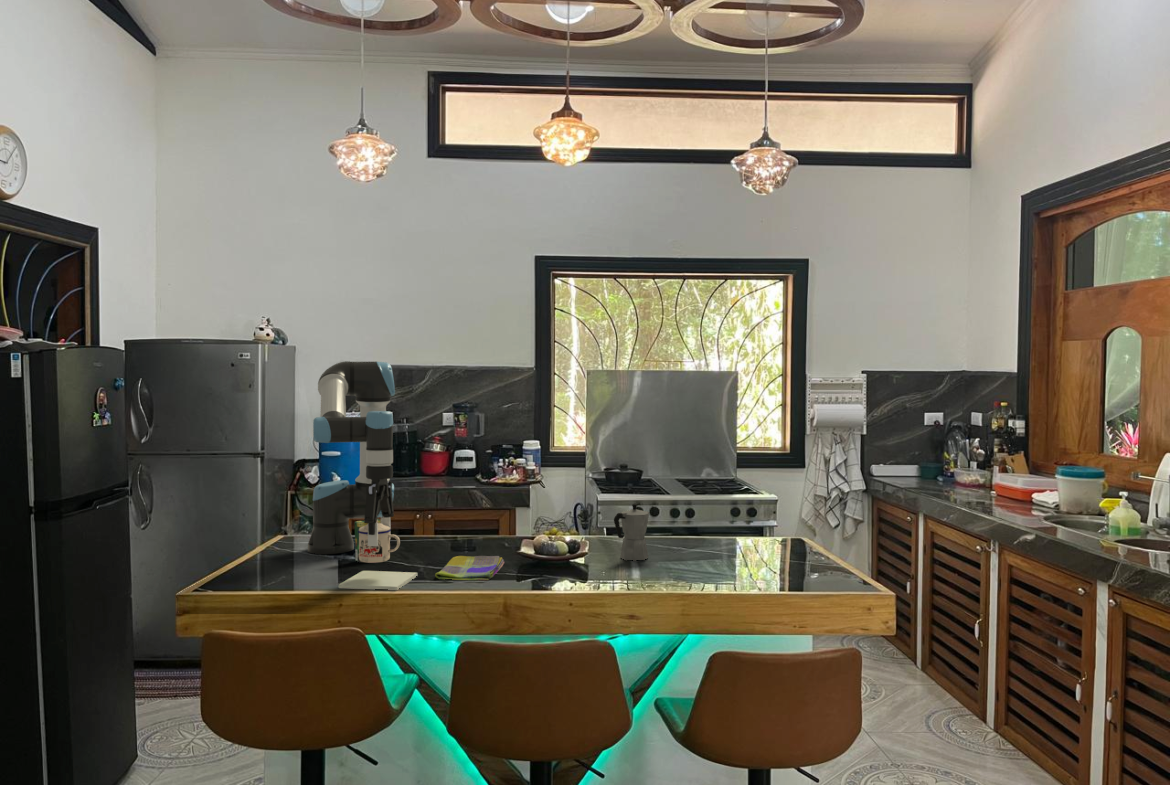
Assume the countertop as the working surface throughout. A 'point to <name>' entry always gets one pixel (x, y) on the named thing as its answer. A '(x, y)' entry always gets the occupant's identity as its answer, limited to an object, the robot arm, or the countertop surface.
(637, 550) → the coffeepot
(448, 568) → the dish towel
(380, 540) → the teacup with lid
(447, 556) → the countertop surface
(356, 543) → the coffee box
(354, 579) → the tile
